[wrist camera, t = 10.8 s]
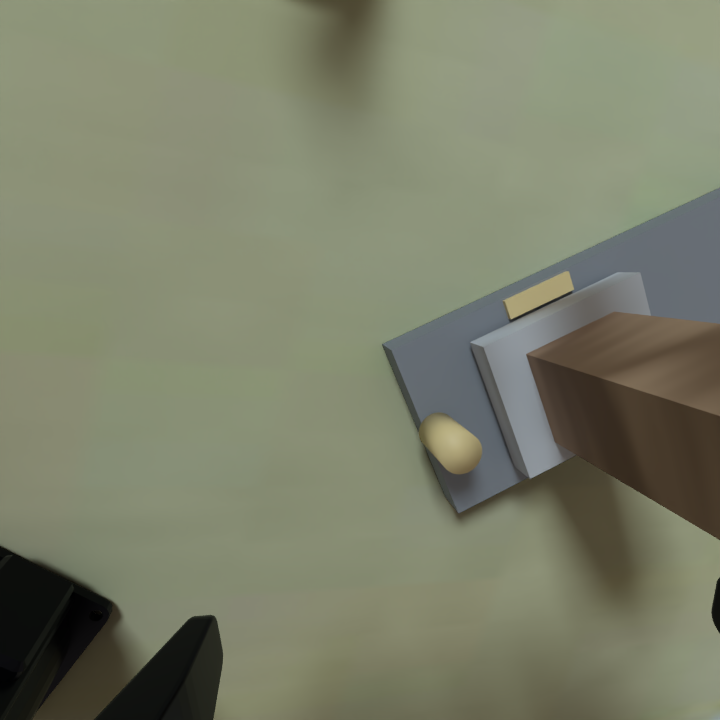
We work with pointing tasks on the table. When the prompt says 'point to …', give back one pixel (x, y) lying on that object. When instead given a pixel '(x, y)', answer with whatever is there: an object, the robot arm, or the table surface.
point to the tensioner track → (457, 329)
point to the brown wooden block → (613, 394)
